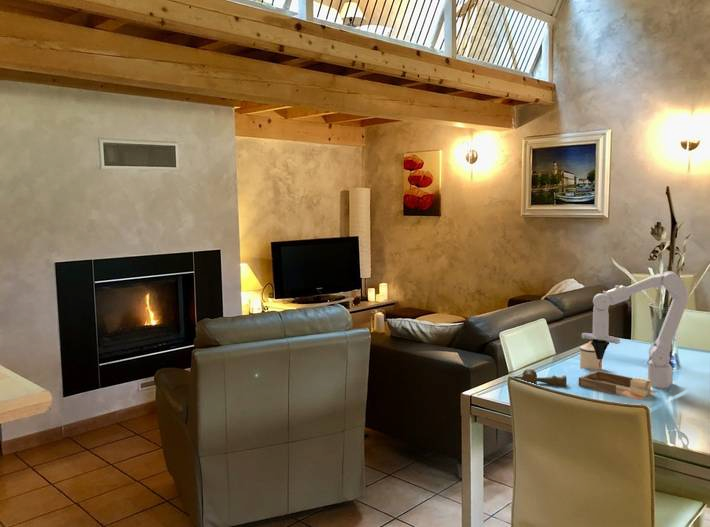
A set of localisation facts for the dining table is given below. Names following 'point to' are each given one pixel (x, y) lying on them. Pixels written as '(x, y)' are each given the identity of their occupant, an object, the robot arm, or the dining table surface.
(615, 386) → the brown wooden tray
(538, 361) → the dining table surface
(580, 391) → the dining table surface
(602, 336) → the robot arm
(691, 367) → the dining table surface
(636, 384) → the maple block
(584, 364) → the teacup with lid
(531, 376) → the kendama
